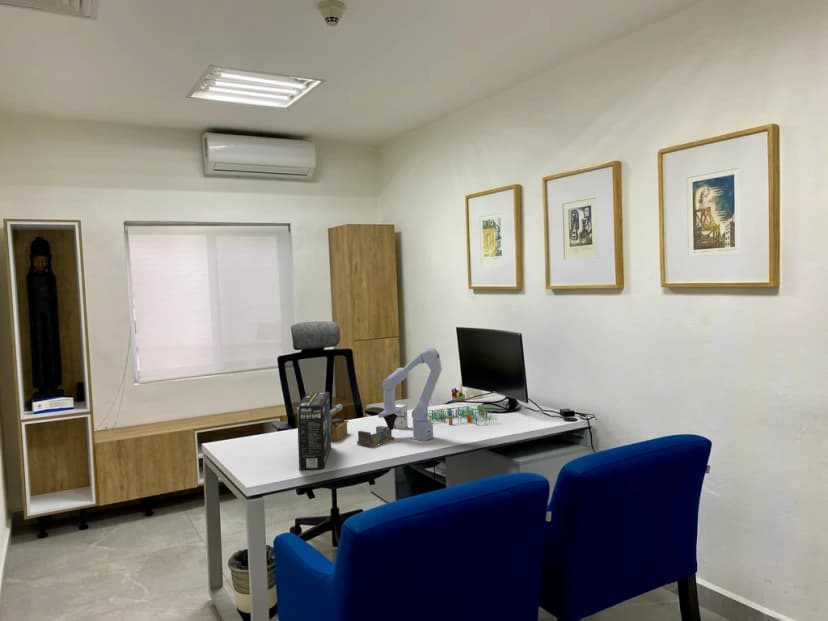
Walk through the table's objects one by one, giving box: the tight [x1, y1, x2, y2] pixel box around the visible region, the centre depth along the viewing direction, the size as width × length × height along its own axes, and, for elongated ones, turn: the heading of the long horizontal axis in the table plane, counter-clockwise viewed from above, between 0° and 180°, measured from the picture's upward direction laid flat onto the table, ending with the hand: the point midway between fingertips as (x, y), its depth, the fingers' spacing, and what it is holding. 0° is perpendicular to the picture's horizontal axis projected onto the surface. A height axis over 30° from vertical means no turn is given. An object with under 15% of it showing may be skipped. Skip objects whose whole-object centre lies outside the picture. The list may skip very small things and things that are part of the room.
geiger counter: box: [330, 403, 349, 442], centre depth 304 cm, size 9×26×15 cm, turn 167°
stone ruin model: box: [356, 429, 395, 448], centre depth 294 cm, size 16×9×6 cm, turn 138°
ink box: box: [393, 403, 409, 430], centre depth 322 cm, size 9×5×12 cm, turn 62°
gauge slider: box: [375, 425, 389, 433], centre depth 297 cm, size 3×7×4 cm, turn 48°
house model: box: [426, 404, 498, 426], centre depth 334 cm, size 35×30×5 cm
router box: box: [296, 391, 332, 470], centre depth 271 cm, size 36×11×27 cm, turn 3°
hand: (390, 429), depth 302 cm, fingers closed
